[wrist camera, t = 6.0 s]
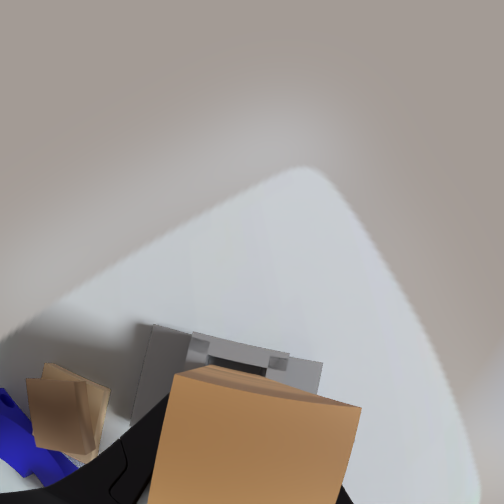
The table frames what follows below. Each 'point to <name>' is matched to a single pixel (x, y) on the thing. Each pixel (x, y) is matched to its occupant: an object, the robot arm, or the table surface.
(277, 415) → the tall strip
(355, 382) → the table surface
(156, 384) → the rack
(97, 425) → the lower offcut
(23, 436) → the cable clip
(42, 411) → the upper offcut
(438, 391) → the table surface
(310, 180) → the table surface
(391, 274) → the table surface
